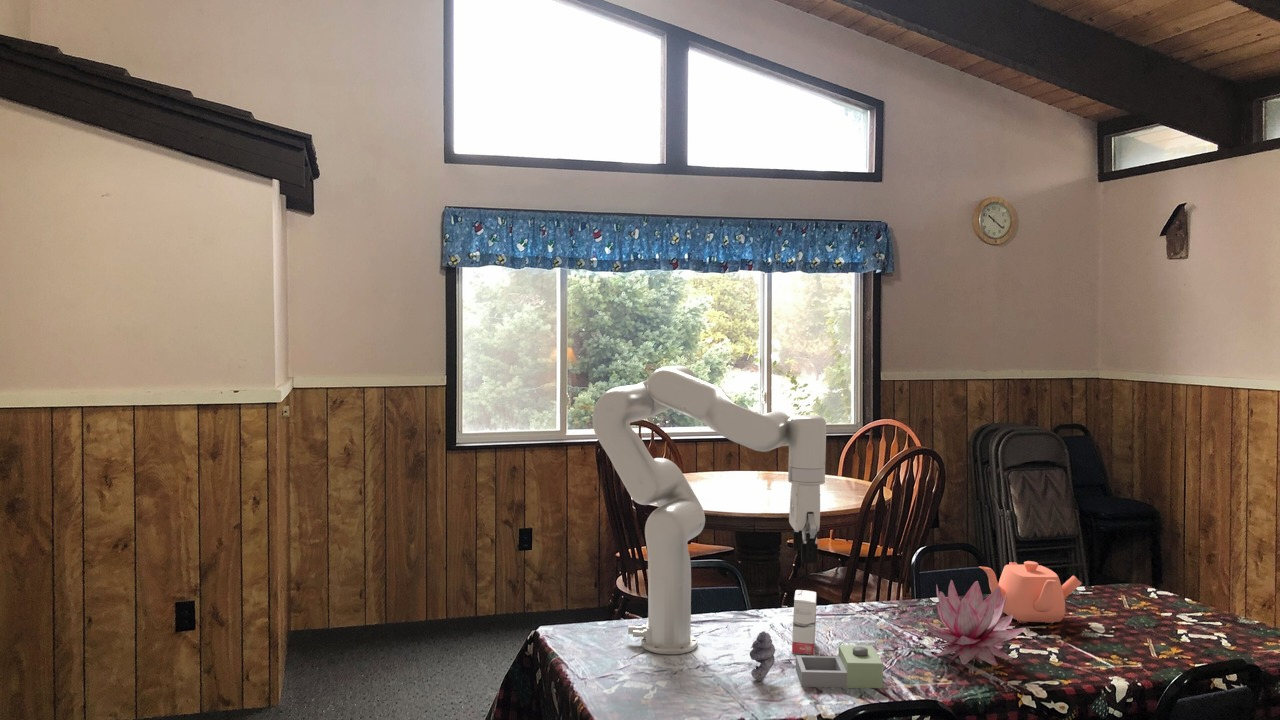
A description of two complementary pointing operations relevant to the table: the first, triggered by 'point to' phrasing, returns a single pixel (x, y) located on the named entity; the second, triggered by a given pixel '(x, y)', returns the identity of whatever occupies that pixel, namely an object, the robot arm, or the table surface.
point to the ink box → (804, 622)
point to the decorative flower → (973, 624)
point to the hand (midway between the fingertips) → (804, 556)
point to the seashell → (762, 655)
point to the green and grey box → (842, 669)
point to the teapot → (1032, 592)
